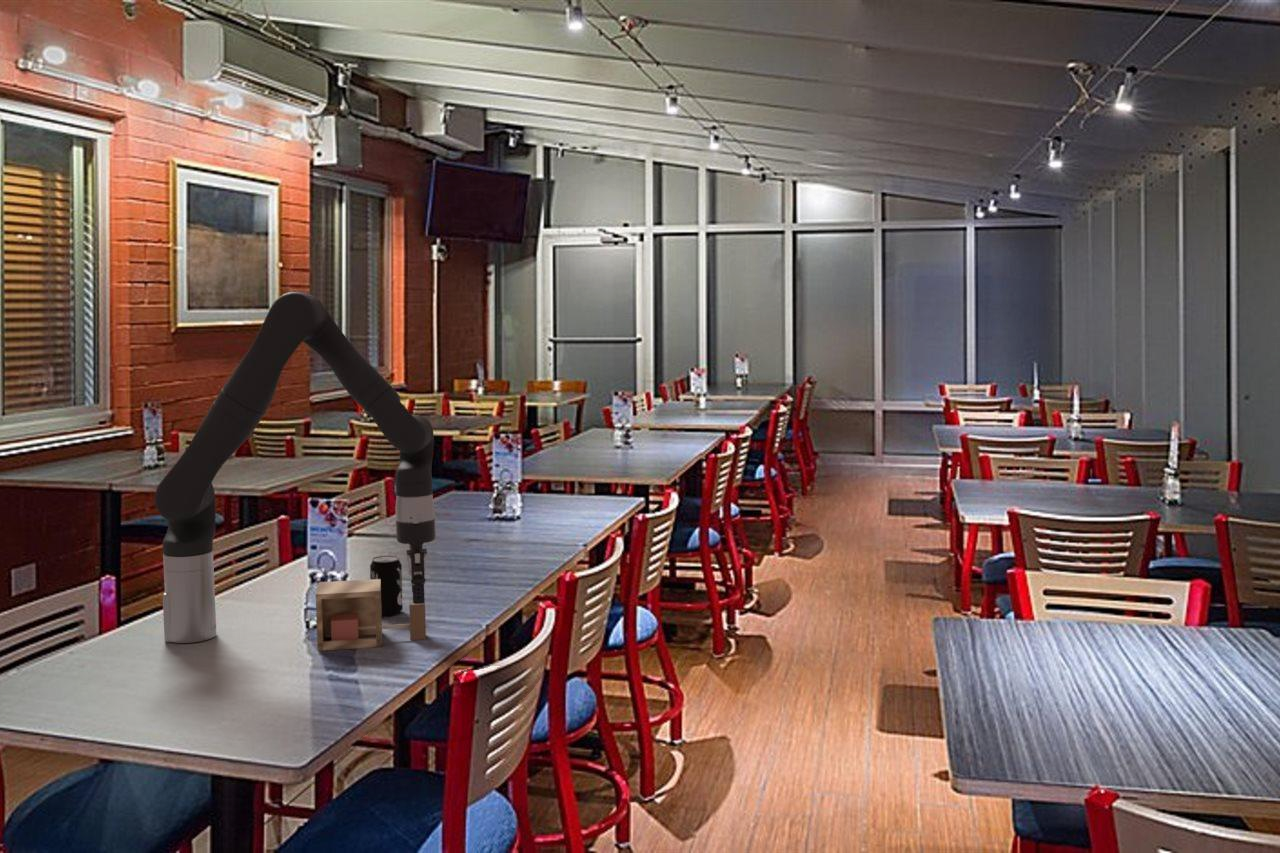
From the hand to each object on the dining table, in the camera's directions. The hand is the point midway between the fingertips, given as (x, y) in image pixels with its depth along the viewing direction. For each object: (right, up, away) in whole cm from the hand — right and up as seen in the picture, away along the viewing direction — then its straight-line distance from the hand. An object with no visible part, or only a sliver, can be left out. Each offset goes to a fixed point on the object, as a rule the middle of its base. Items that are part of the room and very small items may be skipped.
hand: (418, 597), depth 230 cm
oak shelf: (-13, -8, -2) cm, 15 cm away
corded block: (-8, -8, -1) cm, 11 cm away
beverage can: (-10, -6, +19) cm, 22 cm away
